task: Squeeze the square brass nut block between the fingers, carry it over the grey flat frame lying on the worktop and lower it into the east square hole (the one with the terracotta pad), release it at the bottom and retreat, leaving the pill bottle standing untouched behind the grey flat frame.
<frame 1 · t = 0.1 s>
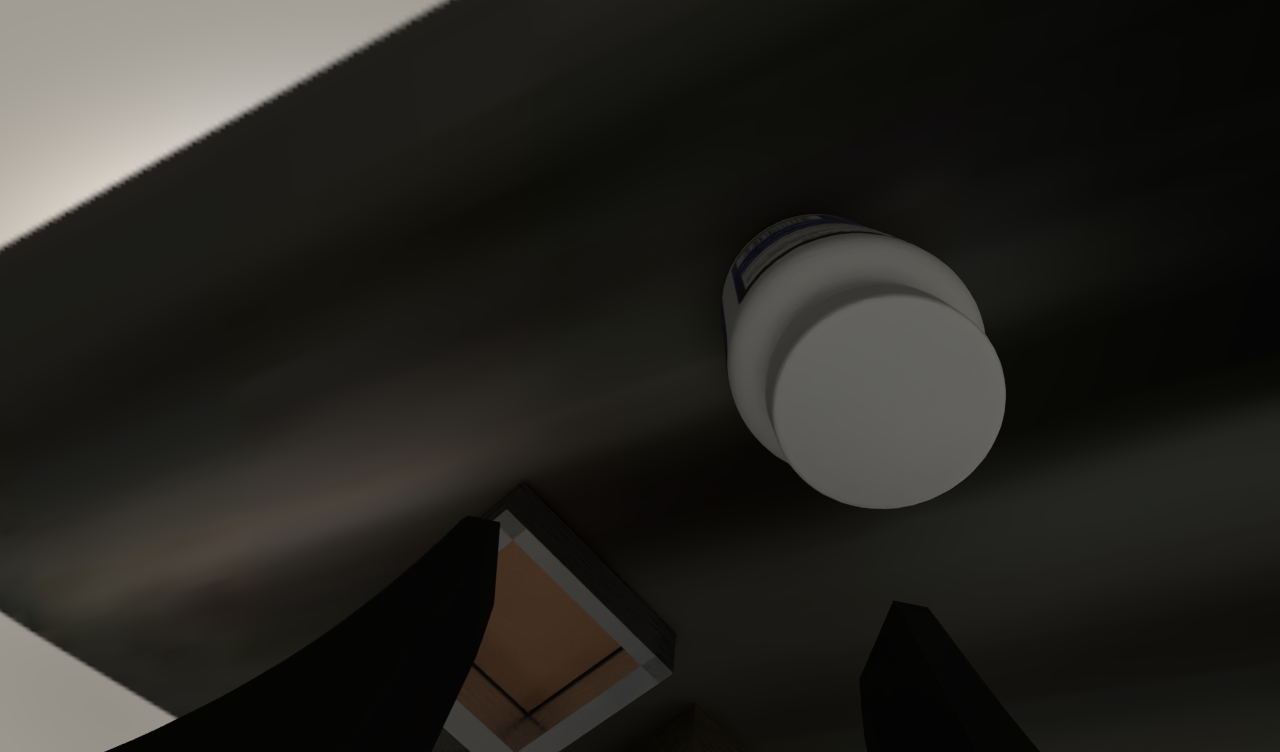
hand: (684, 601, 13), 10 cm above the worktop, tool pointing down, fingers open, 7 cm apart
grey flat frame: (461, 667, 27), on the worktop
pill bottle: (808, 300, 21), on the worktop
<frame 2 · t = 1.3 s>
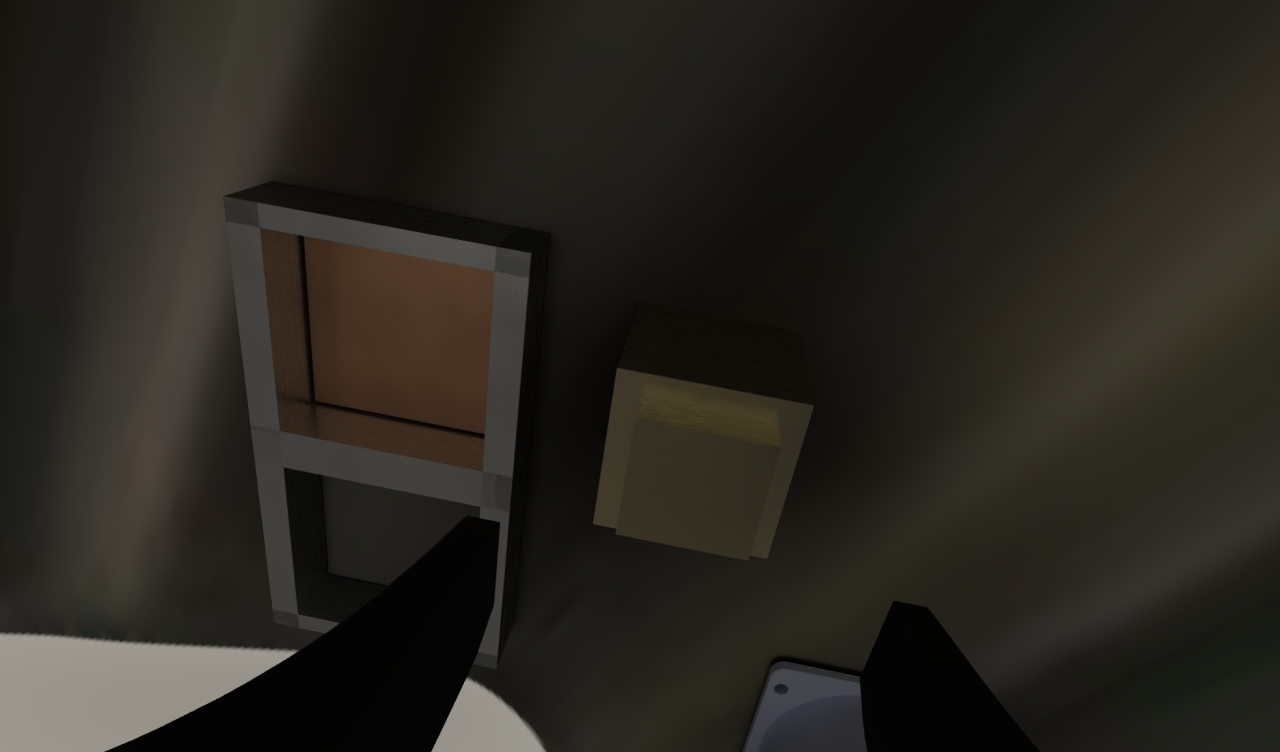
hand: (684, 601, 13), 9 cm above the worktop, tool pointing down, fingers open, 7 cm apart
grey flat frame: (408, 435, 22), on the worktop
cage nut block: (703, 385, 21), on the worktop
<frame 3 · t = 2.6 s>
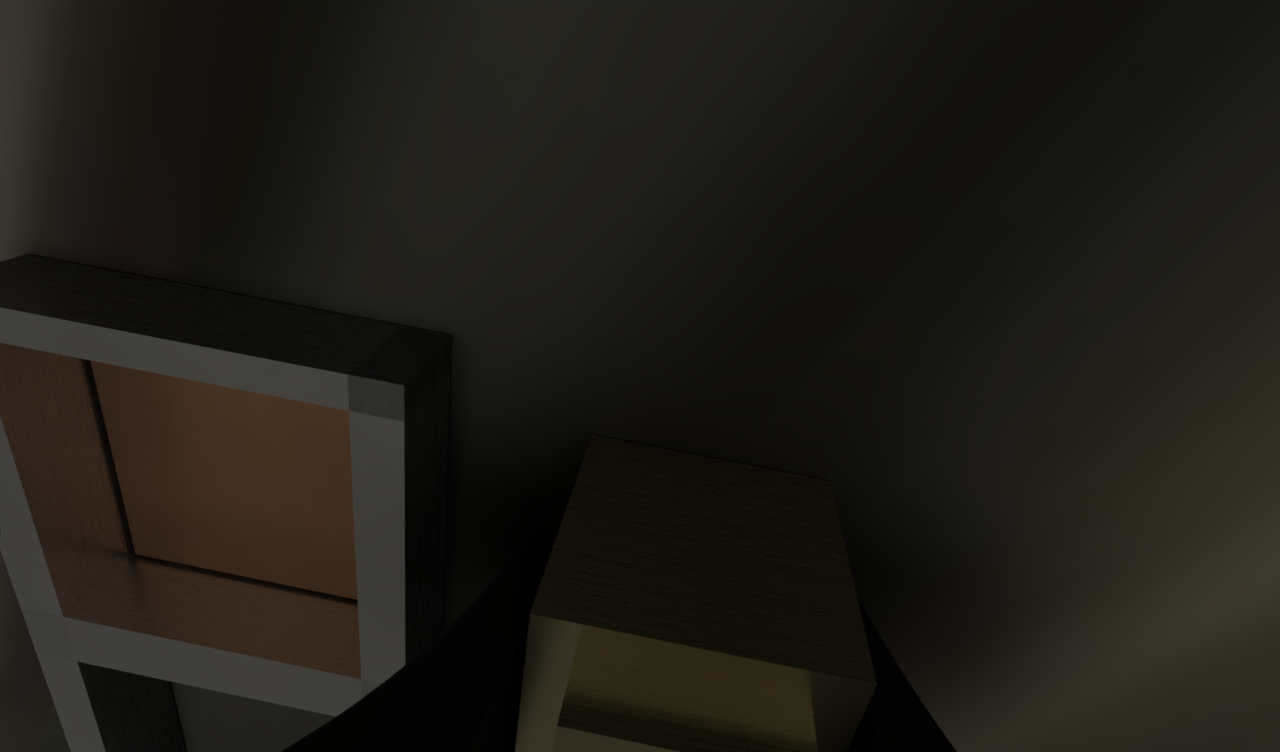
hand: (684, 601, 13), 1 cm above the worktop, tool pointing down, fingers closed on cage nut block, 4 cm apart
grey flat frame: (273, 598, 16), on the worktop
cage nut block: (688, 550, 14), on the worktop, touching gripper
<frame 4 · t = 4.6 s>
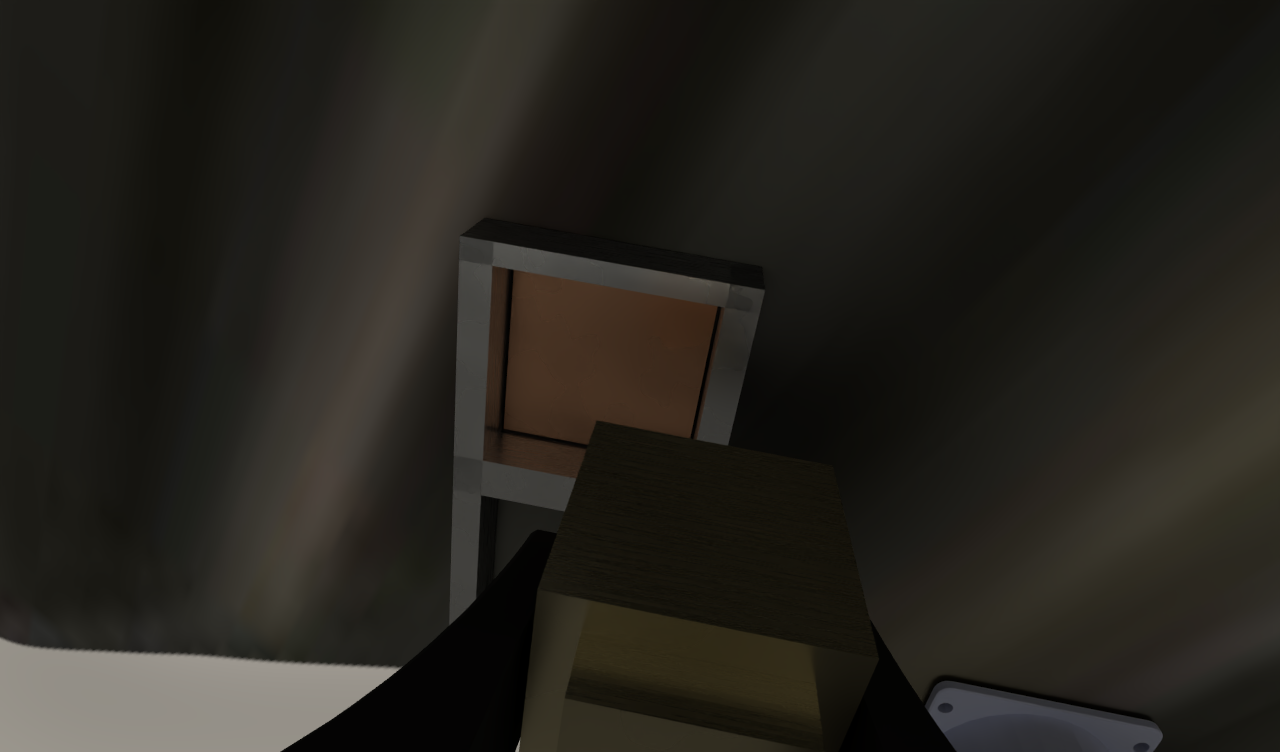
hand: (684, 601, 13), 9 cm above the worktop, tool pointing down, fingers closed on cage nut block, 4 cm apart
grey flat frame: (592, 461, 23), on the worktop
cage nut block: (691, 535, 14), point 8 cm above the worktop, touching gripper
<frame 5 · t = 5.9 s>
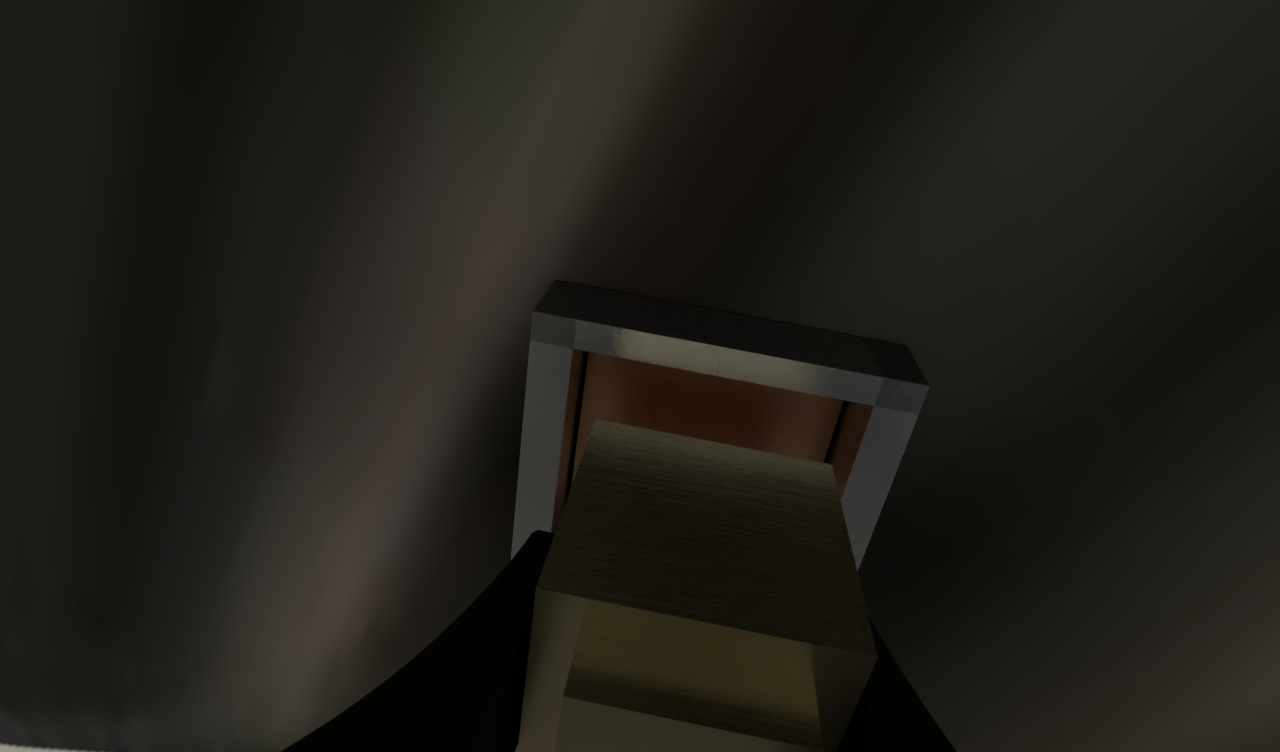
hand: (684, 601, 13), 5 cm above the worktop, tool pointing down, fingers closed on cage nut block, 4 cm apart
grey flat frame: (671, 565, 19), on the worktop
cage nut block: (690, 534, 14), point 4 cm above the worktop, touching gripper
when the fingers open (2 cm above the worktop, at t = 7.0 s): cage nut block stays where it is, resting on grey flat frame.
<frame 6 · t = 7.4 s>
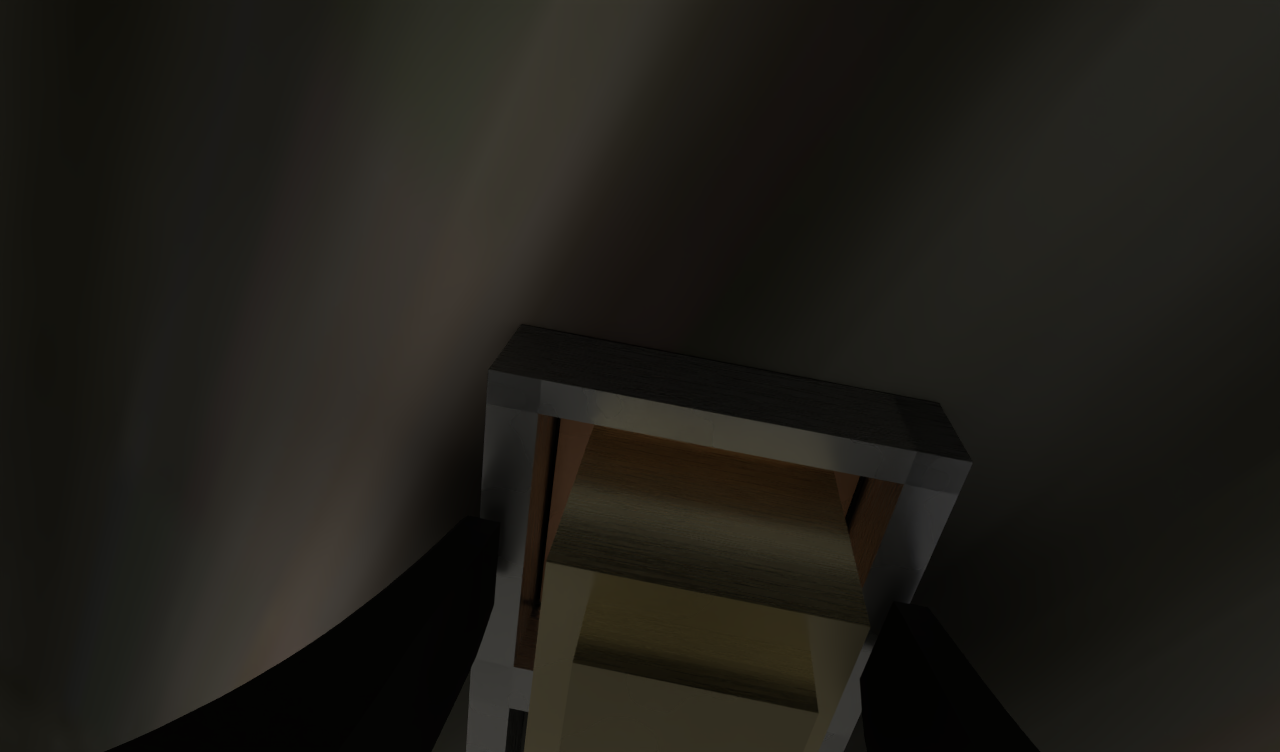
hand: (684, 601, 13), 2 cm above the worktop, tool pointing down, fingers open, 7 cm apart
grey flat frame: (662, 643, 16), on the worktop
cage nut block: (692, 518, 14), resting on grey flat frame
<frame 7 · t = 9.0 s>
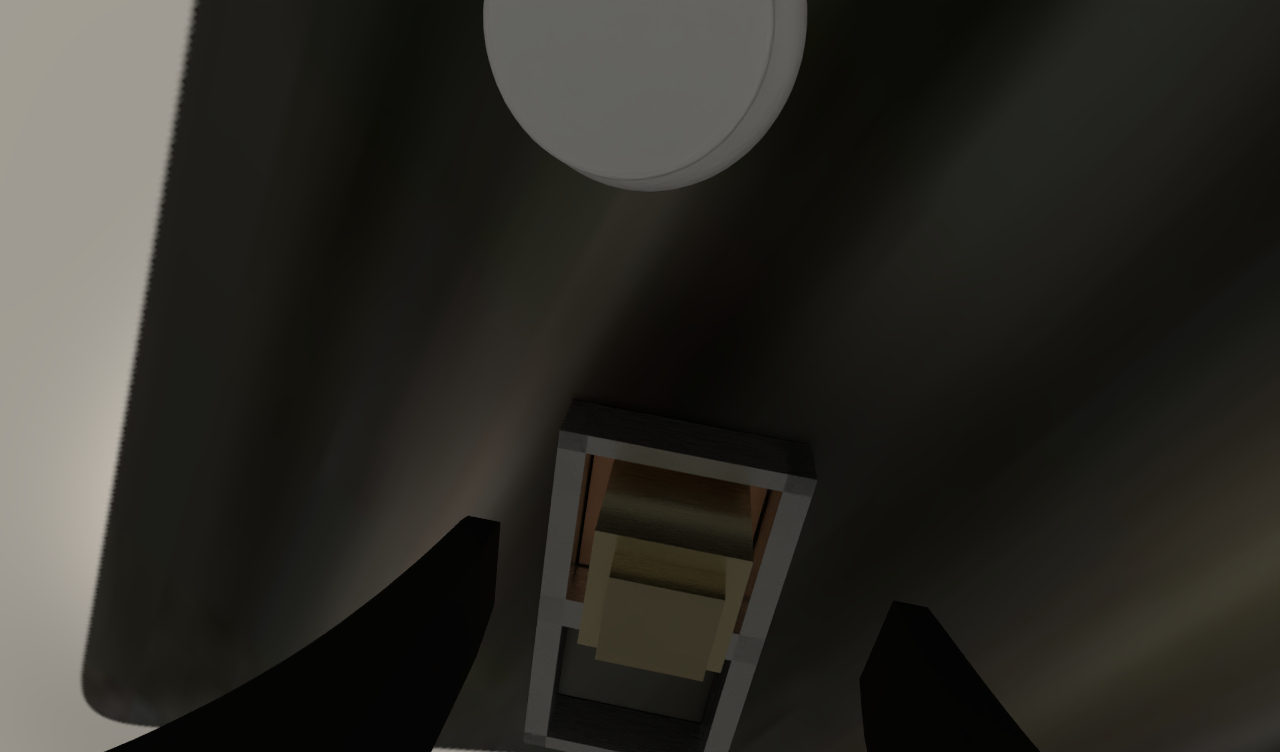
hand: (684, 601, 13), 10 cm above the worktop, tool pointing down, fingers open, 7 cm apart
grey flat frame: (654, 589, 26), on the worktop
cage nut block: (672, 511, 24), resting on grey flat frame
pill bottle: (676, 35, 18), on the worktop
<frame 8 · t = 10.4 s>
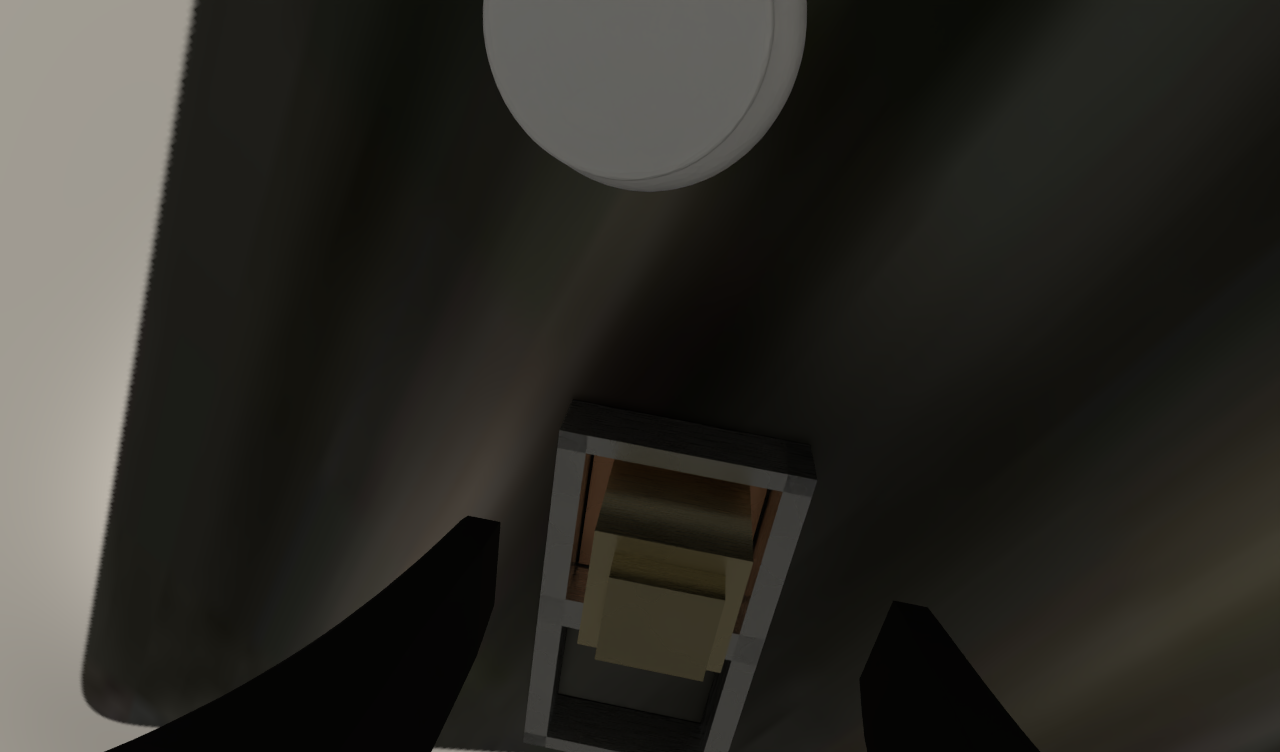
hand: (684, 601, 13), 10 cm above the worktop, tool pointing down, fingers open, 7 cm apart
grey flat frame: (654, 589, 26), on the worktop
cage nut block: (672, 511, 24), resting on grey flat frame
pill bottle: (676, 35, 18), on the worktop
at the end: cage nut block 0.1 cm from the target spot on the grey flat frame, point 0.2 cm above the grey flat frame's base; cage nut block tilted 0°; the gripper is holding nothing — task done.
